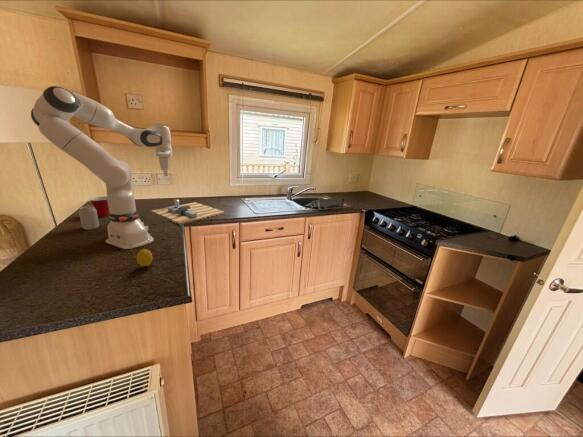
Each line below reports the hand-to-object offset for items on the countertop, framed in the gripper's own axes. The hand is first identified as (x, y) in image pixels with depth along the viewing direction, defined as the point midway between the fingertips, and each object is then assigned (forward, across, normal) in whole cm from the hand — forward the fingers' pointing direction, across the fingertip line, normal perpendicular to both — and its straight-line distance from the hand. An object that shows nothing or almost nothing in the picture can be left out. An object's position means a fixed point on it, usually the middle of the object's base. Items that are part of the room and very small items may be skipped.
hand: (166, 175), depth 151 cm
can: (+28, +11, -39) cm, 49 cm away
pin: (+25, -8, +5) cm, 27 cm away
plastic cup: (+28, -11, -38) cm, 48 cm away
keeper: (+25, +1, +9) cm, 27 cm away
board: (+27, -6, +12) cm, 30 cm away
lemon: (+28, +65, -7) cm, 71 cm away
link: (+25, -1, +9) cm, 27 cm away
